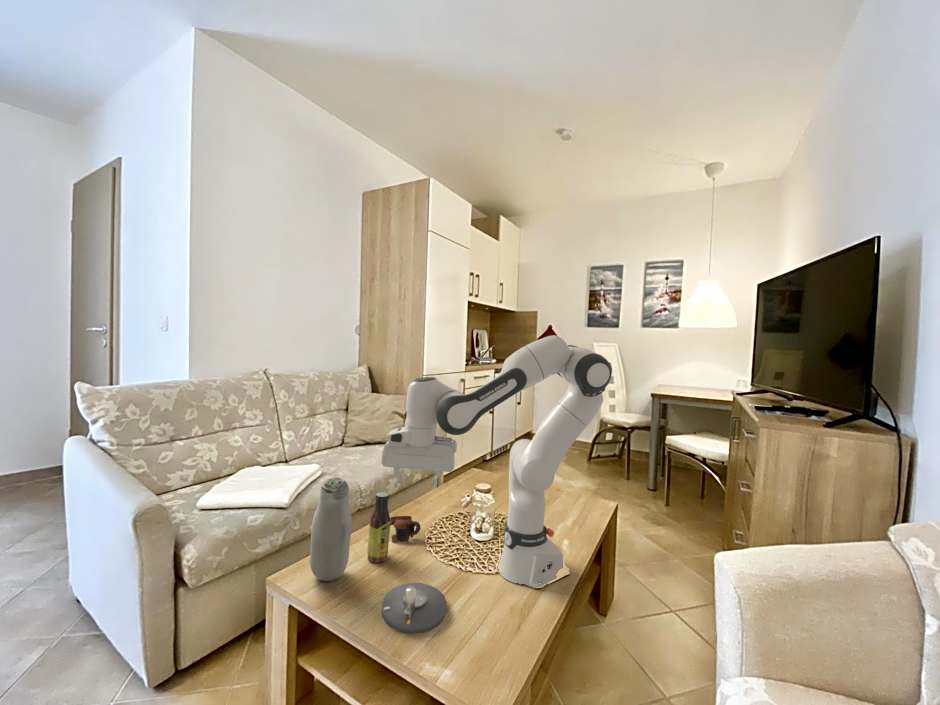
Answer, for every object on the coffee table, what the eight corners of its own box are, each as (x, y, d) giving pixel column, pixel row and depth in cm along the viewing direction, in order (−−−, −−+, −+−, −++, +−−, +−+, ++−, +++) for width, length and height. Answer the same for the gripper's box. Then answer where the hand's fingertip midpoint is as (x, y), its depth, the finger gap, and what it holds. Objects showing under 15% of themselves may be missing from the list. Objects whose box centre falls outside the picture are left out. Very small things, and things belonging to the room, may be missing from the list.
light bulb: (407, 591, 105) (408, 569, 105) (429, 595, 104) (431, 573, 104) (394, 616, 96) (396, 591, 95) (418, 621, 95) (420, 596, 95)
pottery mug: (382, 543, 133) (383, 516, 137) (394, 543, 141) (395, 518, 145) (416, 540, 131) (416, 513, 134) (426, 541, 139) (426, 515, 143)
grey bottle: (301, 581, 109) (307, 481, 108) (326, 563, 119) (333, 470, 118) (330, 592, 106) (337, 488, 105) (354, 572, 115) (361, 476, 114)
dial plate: (432, 584, 113) (432, 576, 112) (455, 623, 98) (456, 614, 98) (375, 597, 105) (375, 589, 105) (391, 641, 91) (392, 631, 91)
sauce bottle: (382, 565, 120) (387, 500, 119) (363, 561, 121) (367, 497, 120) (391, 554, 126) (395, 492, 125) (372, 550, 127) (377, 489, 127)
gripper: (458, 435, 114) (454, 483, 115) (387, 429, 115) (384, 477, 115) (456, 441, 108) (453, 491, 108) (381, 435, 109) (378, 485, 109)
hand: (416, 484), depth 112 cm, fingers open, 8 cm apart
